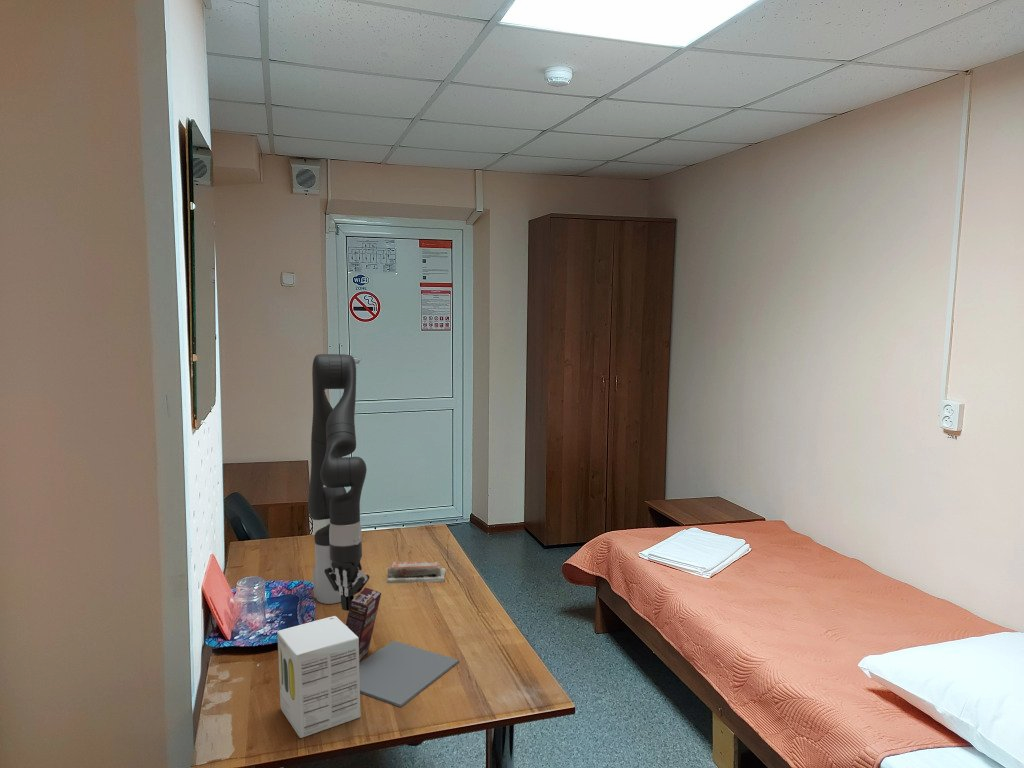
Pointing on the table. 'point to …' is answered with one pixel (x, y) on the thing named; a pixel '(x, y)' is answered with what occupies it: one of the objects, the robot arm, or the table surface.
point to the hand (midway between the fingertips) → (347, 609)
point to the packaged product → (415, 572)
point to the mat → (401, 672)
